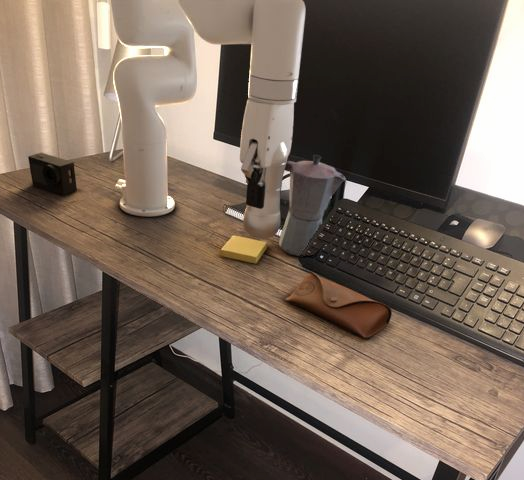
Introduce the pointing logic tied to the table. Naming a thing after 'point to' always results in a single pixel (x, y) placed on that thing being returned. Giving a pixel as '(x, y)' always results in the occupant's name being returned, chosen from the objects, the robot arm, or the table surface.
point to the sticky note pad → (244, 249)
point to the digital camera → (52, 173)
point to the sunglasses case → (341, 305)
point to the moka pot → (307, 201)
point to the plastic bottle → (268, 199)
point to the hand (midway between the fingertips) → (263, 200)
